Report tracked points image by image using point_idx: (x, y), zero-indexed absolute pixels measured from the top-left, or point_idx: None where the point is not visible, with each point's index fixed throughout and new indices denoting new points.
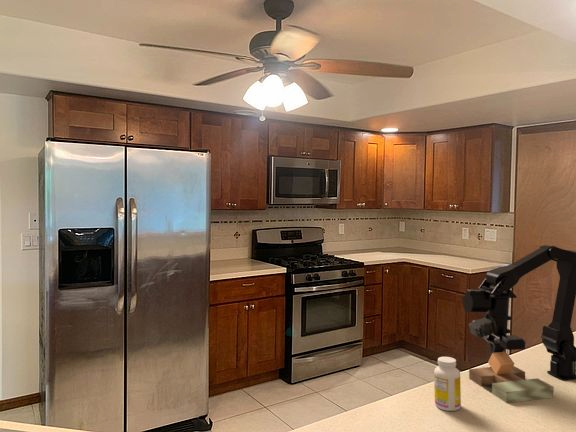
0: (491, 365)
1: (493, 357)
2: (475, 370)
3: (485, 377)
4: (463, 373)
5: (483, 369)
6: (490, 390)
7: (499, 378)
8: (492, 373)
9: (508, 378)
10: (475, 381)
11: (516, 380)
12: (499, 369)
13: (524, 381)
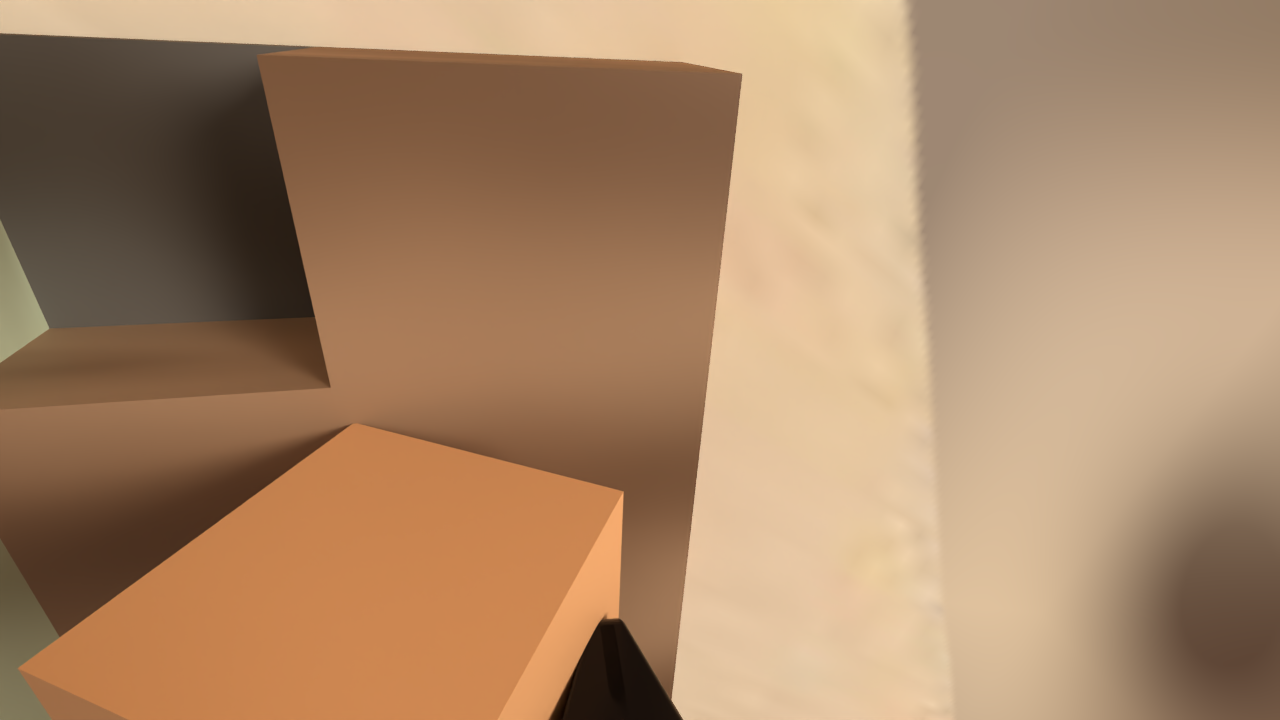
0: (496, 493)
1: (387, 702)
2: (639, 167)
3: (290, 172)
4: (882, 113)
5: (639, 346)
6: (41, 68)
7: (173, 394)
8: (421, 393)
9: (145, 526)
10: (501, 56)
11: (45, 597)
12: (219, 536)
13: (6, 677)
